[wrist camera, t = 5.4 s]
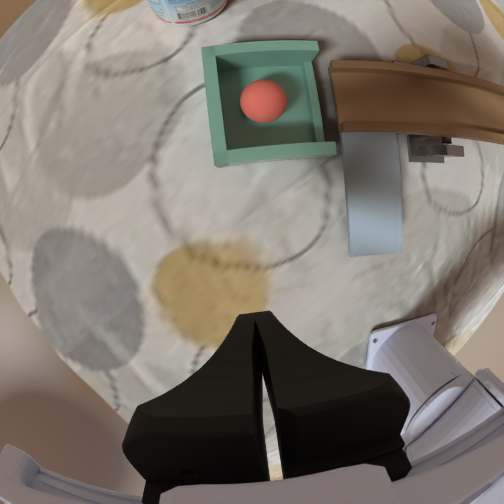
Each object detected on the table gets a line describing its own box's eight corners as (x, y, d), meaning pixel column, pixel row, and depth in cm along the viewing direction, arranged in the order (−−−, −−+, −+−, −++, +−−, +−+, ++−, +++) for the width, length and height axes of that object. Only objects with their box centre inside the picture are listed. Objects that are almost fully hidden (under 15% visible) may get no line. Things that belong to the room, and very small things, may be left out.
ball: (272, 115, 14) (233, 125, 16) (298, 120, 16) (262, 128, 18) (265, 69, 13) (228, 83, 15) (292, 79, 15) (257, 90, 17)
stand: (442, 162, 19) (472, 163, 15) (409, 161, 19) (439, 161, 15) (426, 69, 17) (452, 57, 13) (391, 61, 16) (416, 46, 13)
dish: (321, 157, 19) (337, 154, 16) (218, 167, 18) (214, 165, 15) (306, 58, 16) (317, 40, 13) (206, 65, 16) (201, 47, 13)
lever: (512, 236, 17) (532, 245, 14) (346, 251, 20) (355, 265, 17) (502, 90, 13) (522, 85, 10) (326, 66, 16) (331, 49, 13)
